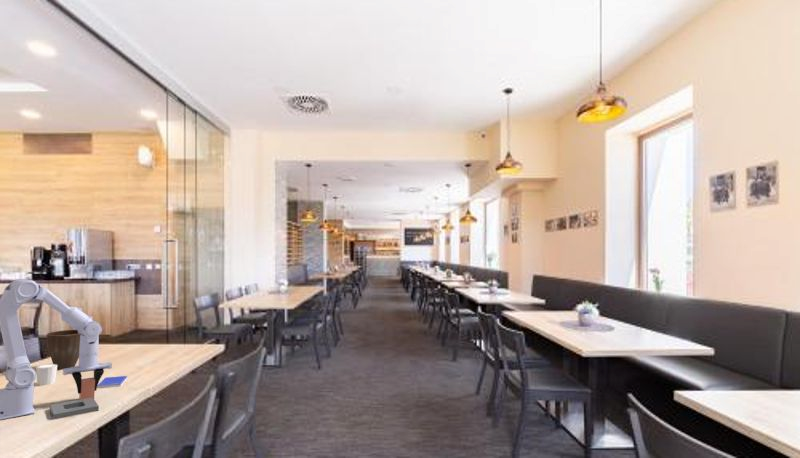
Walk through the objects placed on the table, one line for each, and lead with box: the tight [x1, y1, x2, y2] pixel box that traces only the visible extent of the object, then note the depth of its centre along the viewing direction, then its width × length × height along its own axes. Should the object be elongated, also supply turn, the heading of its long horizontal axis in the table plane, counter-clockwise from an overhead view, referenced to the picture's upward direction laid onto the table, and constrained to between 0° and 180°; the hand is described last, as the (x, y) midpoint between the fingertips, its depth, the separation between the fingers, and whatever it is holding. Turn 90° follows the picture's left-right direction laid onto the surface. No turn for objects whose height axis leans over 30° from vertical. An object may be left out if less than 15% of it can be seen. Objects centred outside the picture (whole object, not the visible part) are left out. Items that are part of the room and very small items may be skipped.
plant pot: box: [46, 329, 84, 370], centre depth 206 cm, size 15×15×16 cm
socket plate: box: [49, 397, 100, 420], centre depth 151 cm, size 12×12×2 cm
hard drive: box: [97, 375, 128, 389], centre depth 182 cm, size 2×8×12 cm
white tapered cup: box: [35, 363, 58, 386], centre depth 181 cm, size 7×7×7 cm
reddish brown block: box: [78, 376, 96, 400], centre depth 162 cm, size 4×4×7 cm
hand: (87, 391), depth 162 cm, fingers closed on reddish brown block, 4 cm apart
